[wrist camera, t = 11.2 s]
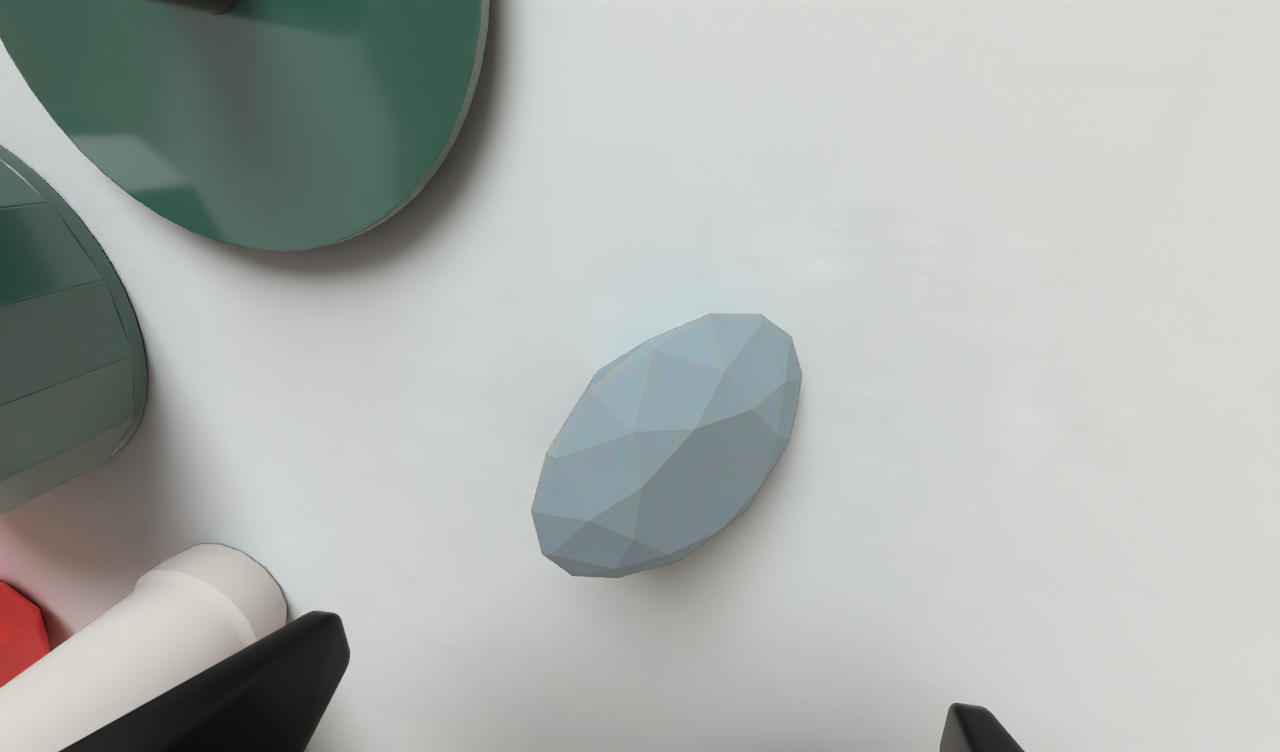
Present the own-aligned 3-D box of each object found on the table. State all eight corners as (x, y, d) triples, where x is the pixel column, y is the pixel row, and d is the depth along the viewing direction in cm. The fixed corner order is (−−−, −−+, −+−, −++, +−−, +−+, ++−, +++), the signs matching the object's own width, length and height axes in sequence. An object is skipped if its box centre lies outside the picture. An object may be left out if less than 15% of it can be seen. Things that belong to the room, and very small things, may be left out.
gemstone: (421, 480, 16) (497, 638, 12) (532, 199, 13) (665, 300, 10) (638, 479, 21) (733, 589, 17) (746, 277, 18) (879, 361, 15)
